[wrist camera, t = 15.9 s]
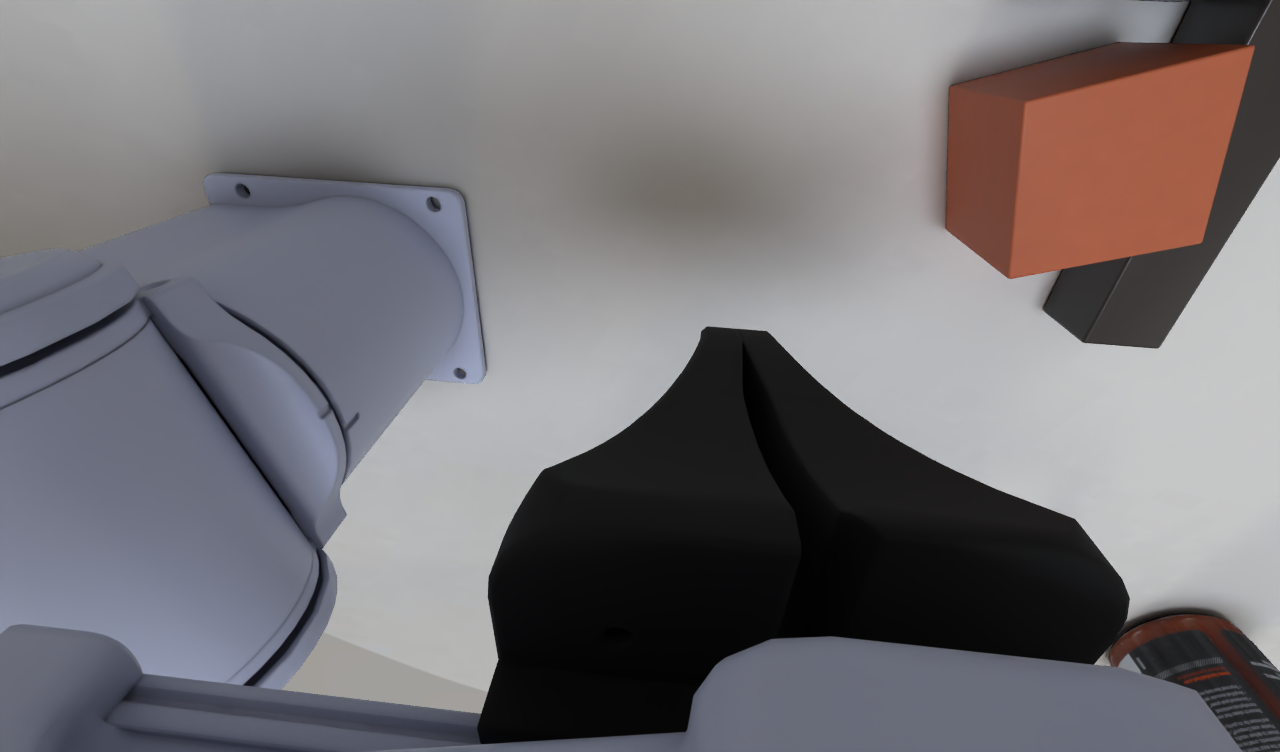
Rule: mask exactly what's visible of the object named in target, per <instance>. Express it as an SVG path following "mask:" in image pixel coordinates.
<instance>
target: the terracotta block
mask: <svg viewBox="0 0 1280 752" xmlns="http://www.w3.org/2000/svg"><path fill="white" fill-rule="evenodd" d="M1254 49H1255V46H1254V45H1232V44H1181V43H1130V42H1118V43H1114V44H1110V45H1107V46H1103V47H1099V48H1095V49H1091V50H1087V51H1083V52H1080V53H1076V54H1072V55H1068V56H1064V57H1060V58H1056V59H1052V60H1049V61H1045V62H1041V63H1037V64H1033V65H1029V66H1025V67H1021V68H1018V69H1014V70H1010V71H1006V72H1002V73H998V74H994V75H991V76H987V77H983V78H979V79H975V80H971V81H967V82H963V83H960V84H956V85H952V86H951V87H950V93H949V132H948V170H947V209H946V230H947V231H949V232H950V233H951V234H952V235H954V236H955V237H956V238H957V239H959V240H960V241H961V242H962V243H964V244H965V245H966V246H968V247H969V248H970V249H971V250H973V251H974V252H975V253H976V254H978V255H979V256H980V257H982V258H983V259H984V260H985V261H987V262H988V263H989V264H990V265H992V266H993V267H994V268H996V269H997V270H998V271H999V272H1001V273H1002V274H1003V275H1004V276H1006V277H1007V278H1009V279H1013V278H1018V277H1023V276H1029V275H1034V274H1039V273H1045V272H1050V271H1055V270H1061V269H1066V268H1071V267H1077V266H1082V265H1088V264H1093V263H1098V262H1104V261H1109V260H1114V259H1120V258H1125V257H1130V256H1136V255H1141V254H1147V253H1152V252H1157V251H1163V250H1168V249H1173V248H1179V247H1184V246H1189V245H1195V244H1200V243H1202V241H1203V238H1204V234H1205V230H1206V227H1207V223H1208V219H1209V216H1210V212H1211V208H1212V205H1213V201H1214V197H1215V193H1216V190H1217V186H1218V182H1219V179H1220V175H1221V171H1222V168H1223V164H1224V160H1225V156H1226V153H1227V149H1228V145H1229V142H1230V138H1231V134H1232V131H1233V127H1234V123H1235V119H1236V116H1237V112H1238V108H1239V105H1240V101H1241V97H1242V94H1243V90H1244V86H1245V83H1246V79H1247V75H1248V71H1249V68H1250V64H1251V60H1252V57H1253V53H1254Z"/></svg>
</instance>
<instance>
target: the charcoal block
mask: <svg viewBox="0 0 1280 752" xmlns="http://www.w3.org/2000/svg"><path fill="white" fill-rule="evenodd" d="M1141 1H1163V2H1183V1H1198V0H1141Z"/></svg>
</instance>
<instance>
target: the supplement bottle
mask: <svg viewBox="0 0 1280 752" xmlns="http://www.w3.org/2000/svg"><path fill="white" fill-rule="evenodd" d="M1109 660H1110V664H1111V667H1119V668H1123V669H1127V670H1130V671H1134V672H1137V673H1141V674H1144V675H1147V676H1151V677H1154V678H1158V679H1161V680H1165V681H1168V682H1172V683H1175V684H1178V685H1181V686H1184V687H1187V688H1190V689H1193V690H1196V691H1197V692H1198V694H1199V695H1200V696H1201V698H1202V699H1203V700H1204V701H1205V703H1206V704H1207V705H1208V707H1209V708H1210V709H1211V711H1212V712H1213V713H1214V715H1215V716H1216V717H1217V719H1218V720H1219V721H1220V723H1221V724H1222V725H1223V726H1224V728H1225V729H1226V730H1227V732H1228V733H1229V734H1230V736H1231V737H1232V738H1233V740H1234V741H1235V742H1236V744H1237V745H1238V746H1239V748H1240V749H1241V750H1242V751H1243V752H1280V672H1279V670H1278V669H1277V668H1276V667H1275V666H1274V665H1273V664H1272V663H1271V662H1270V661H1269V660H1268V659H1267V658H1266V656H1265V655H1264V654H1263V653H1262V652H1261V651H1260V650H1259V649H1258V648H1257V646H1256V645H1255V644H1254V643H1253V642H1252V641H1251V640H1249V639H1248V638H1247V637H1246V636H1245V635H1244V634H1243V633H1242V631H1241V630H1240V629H1238V628H1237V627H1236V626H1235V625H1233V624H1231V623H1230V622H1228V621H1226V620H1224V619H1221V618H1217V617H1214V616H1206V615H1196V614H1192V615H1190V614H1185V615H1171V616H1166V617H1162V618H1159V619H1156V620H1153V621H1150V622H1146V623H1144V624H1141V625H1139V626H1137V627H1135V628H1134V629H1132V630H1130V631H1129V632H1127V633H1126V634H1124V635H1123V636H1122V637H1120V638H1119V639H1118V640H1117V641H1116V643H1115V644H1114V645H1113V647H1112V649H1111V651H1110V656H1109Z"/></svg>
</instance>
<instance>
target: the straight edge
mask: <svg viewBox="0 0 1280 752" xmlns="http://www.w3.org/2000/svg"><path fill="white" fill-rule="evenodd" d="M1172 43H1181V44H1232V45H1254V46H1255V49H1254V53H1253V57H1252V60H1251V64H1250V68H1249V71H1248V75H1247V79H1246V83H1245V86H1244V90H1243V94H1242V97H1241V101H1240V105H1239V108H1238V112H1237V116H1236V119H1235V123H1234V127H1233V131H1232V134H1231V138H1230V142H1229V145H1228V149H1227V153H1226V156H1225V160H1224V164H1223V168H1222V171H1221V175H1220V179H1219V182H1218V186H1217V190H1216V193H1215V197H1214V201H1213V205H1212V208H1211V212H1210V216H1209V219H1208V223H1207V227H1206V230H1205V234H1204V238H1203V241H1202V243H1200V244H1195V245H1189V246H1184V247H1179V248H1173V249H1168V250H1163V251H1157V252H1152V253H1147V254H1141V255H1136V256H1130V257H1125V258H1120V259H1114V260H1109V261H1104V262H1098V263H1093V264H1088V265H1082V266H1077V267H1071V268H1066V269H1063V270H1062V272H1061V274H1060V276H1059V278H1058V281H1057V283H1056V285H1055V287H1054V289H1053V291H1052V293H1051V295H1050V297H1049V299H1048V301H1047V303H1046V305H1045V308H1044V312H1045V313H1047V314H1048V315H1049V316H1050V317H1052V318H1053V319H1054V320H1055V321H1057V322H1058V323H1059V324H1060V325H1062V326H1063V327H1064V328H1065V329H1067V330H1068V331H1069V332H1070V333H1072V334H1073V335H1074V336H1075V337H1077V338H1078V339H1079V340H1080V341H1082V342H1083V343H1093V344H1106V345H1119V346H1132V347H1144V348H1159V347H1160V346H1161V344H1162V343H1163V341H1164V340H1165V338H1166V336H1167V335H1168V333H1169V332H1170V330H1171V329H1172V327H1173V325H1174V324H1175V322H1176V321H1177V319H1178V317H1179V316H1180V314H1181V313H1182V311H1183V310H1184V308H1185V306H1186V305H1187V303H1188V302H1189V300H1190V298H1191V297H1192V295H1193V294H1194V292H1195V291H1196V289H1197V287H1198V286H1199V284H1200V283H1201V281H1202V279H1203V278H1204V276H1205V275H1206V273H1207V272H1208V270H1209V268H1210V267H1211V265H1212V264H1213V262H1214V260H1215V259H1216V257H1217V256H1218V254H1219V253H1220V251H1221V249H1222V248H1223V246H1224V245H1225V243H1226V241H1227V240H1228V238H1229V237H1230V235H1231V234H1232V232H1233V230H1234V229H1235V227H1236V226H1237V224H1238V222H1239V221H1240V219H1241V218H1242V216H1243V215H1244V213H1245V211H1246V210H1247V208H1248V207H1249V205H1250V203H1251V202H1252V200H1253V199H1254V197H1255V196H1256V194H1257V192H1258V191H1259V189H1260V188H1261V186H1262V184H1263V183H1264V181H1265V180H1266V178H1267V177H1268V175H1269V173H1270V172H1271V170H1272V169H1273V167H1274V165H1275V164H1276V162H1277V161H1278V159H1279V158H1280V0H1198V1H1192V2H1191V4H1190V6H1189V8H1188V10H1187V12H1186V15H1185V17H1184V19H1183V21H1182V23H1181V25H1180V27H1179V29H1178V31H1177V33H1176V35H1175V37H1174V39H1173V42H1172Z"/></svg>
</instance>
